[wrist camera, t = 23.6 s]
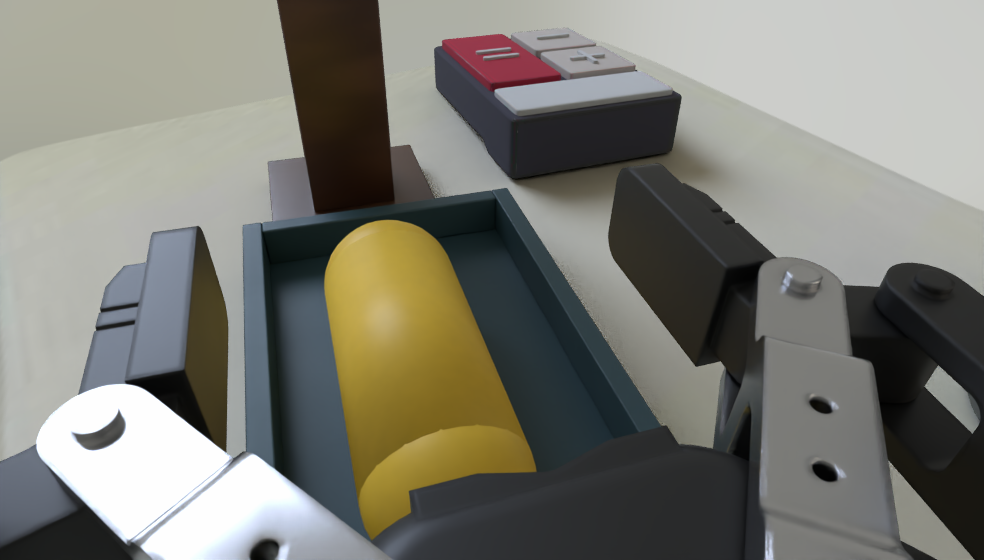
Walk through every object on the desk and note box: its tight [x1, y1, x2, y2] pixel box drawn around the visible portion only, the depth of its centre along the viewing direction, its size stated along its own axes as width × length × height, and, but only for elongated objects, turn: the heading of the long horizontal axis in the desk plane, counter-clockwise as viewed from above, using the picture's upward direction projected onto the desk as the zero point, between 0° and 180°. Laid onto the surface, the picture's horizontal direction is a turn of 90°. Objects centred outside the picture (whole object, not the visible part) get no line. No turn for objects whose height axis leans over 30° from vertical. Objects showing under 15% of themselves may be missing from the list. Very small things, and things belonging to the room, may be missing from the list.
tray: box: [243, 188, 661, 542], centre depth 21 cm, size 12×25×3 cm, turn 18°
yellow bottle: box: [324, 220, 537, 541], centre depth 19 cm, size 19×5×5 cm, turn 17°
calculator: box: [434, 28, 682, 178], centre depth 42 cm, size 11×4×15 cm
